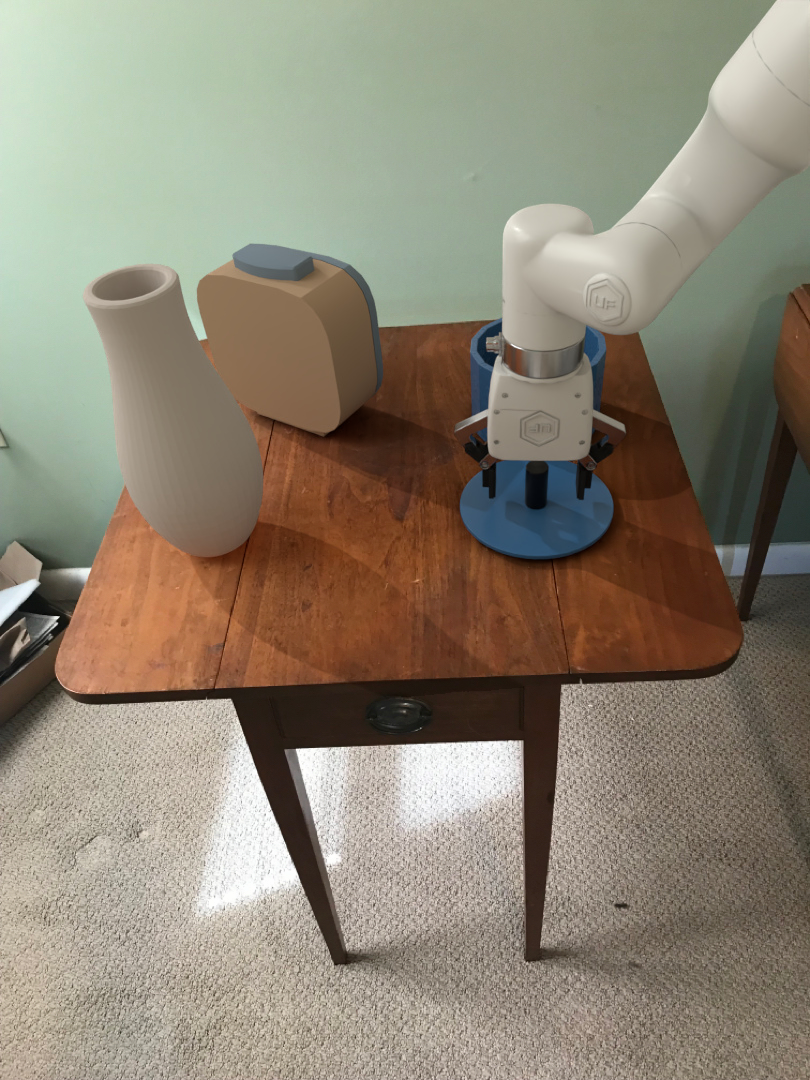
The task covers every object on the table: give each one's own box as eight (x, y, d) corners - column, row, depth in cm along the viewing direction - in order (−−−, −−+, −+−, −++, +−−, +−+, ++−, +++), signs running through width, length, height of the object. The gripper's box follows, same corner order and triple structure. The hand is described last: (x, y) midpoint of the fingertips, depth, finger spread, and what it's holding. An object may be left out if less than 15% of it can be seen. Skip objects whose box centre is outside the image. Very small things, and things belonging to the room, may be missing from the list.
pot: (593, 384, 102) (601, 310, 95) (601, 456, 91) (610, 379, 83) (475, 385, 104) (474, 313, 97) (469, 455, 93) (467, 380, 86)
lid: (606, 463, 90) (612, 420, 85) (618, 565, 78) (625, 521, 74) (464, 463, 92) (463, 420, 88) (455, 561, 80) (452, 518, 76)
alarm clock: (390, 411, 101) (372, 250, 86) (347, 450, 96) (320, 285, 81) (272, 375, 110) (237, 223, 95) (227, 408, 105) (182, 254, 90)
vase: (257, 587, 80) (173, 323, 59) (135, 578, 82) (14, 321, 62) (294, 501, 89) (232, 247, 69) (184, 495, 92) (94, 249, 71)
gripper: (446, 371, 70) (453, 512, 82) (643, 369, 67) (621, 515, 79) (451, 330, 75) (457, 468, 87) (635, 327, 73) (615, 470, 85)
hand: (535, 490), depth 83 cm, fingers open, 8 cm apart
